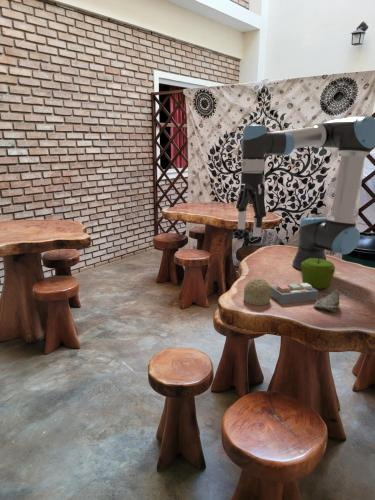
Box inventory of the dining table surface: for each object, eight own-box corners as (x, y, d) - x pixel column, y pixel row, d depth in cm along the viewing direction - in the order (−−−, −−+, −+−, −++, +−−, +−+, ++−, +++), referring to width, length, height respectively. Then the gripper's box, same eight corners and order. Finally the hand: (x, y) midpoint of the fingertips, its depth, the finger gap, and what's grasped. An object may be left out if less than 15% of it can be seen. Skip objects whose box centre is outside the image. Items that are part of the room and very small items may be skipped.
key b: (295, 289, 131) (296, 283, 131) (300, 292, 128) (301, 286, 128) (287, 289, 130) (288, 284, 130) (292, 293, 127) (293, 287, 127)
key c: (284, 290, 130) (285, 284, 130) (289, 293, 127) (290, 288, 127) (276, 290, 129) (277, 285, 129) (281, 294, 126) (282, 288, 126)
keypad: (304, 291, 136) (305, 282, 135) (317, 299, 128) (318, 289, 127) (270, 295, 132) (270, 285, 131) (281, 304, 124) (282, 293, 123)
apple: (294, 281, 147) (297, 254, 144) (323, 280, 148) (326, 254, 145) (307, 292, 135) (310, 263, 132) (338, 292, 136) (342, 263, 133)
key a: (306, 287, 133) (306, 282, 132) (311, 291, 130) (311, 285, 129) (298, 288, 132) (298, 283, 131) (303, 291, 129) (304, 286, 128)
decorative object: (255, 316, 123) (274, 296, 119) (234, 296, 126) (251, 275, 122) (263, 309, 131) (281, 289, 127) (242, 290, 134) (259, 270, 130)
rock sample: (308, 290, 127) (330, 279, 121) (323, 303, 129) (344, 292, 123) (308, 313, 119) (331, 302, 114) (324, 325, 121) (346, 315, 115)
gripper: (229, 170, 135) (226, 226, 141) (258, 174, 112) (253, 240, 117) (247, 170, 137) (244, 225, 142) (279, 174, 114) (274, 239, 119)
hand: (248, 232), depth 130 cm, fingers open, 13 cm apart
